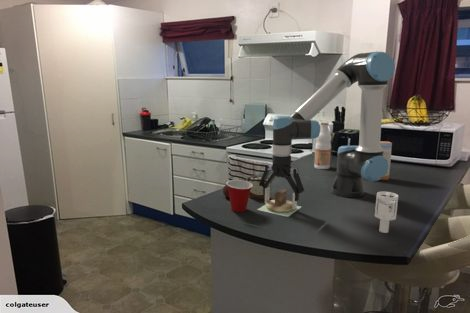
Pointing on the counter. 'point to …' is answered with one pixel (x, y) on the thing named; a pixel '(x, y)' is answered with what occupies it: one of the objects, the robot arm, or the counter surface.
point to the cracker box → (386, 156)
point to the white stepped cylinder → (386, 209)
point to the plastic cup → (239, 194)
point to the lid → (280, 202)
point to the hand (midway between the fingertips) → (280, 205)
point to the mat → (279, 212)
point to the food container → (257, 187)
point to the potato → (226, 191)
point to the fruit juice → (323, 148)
